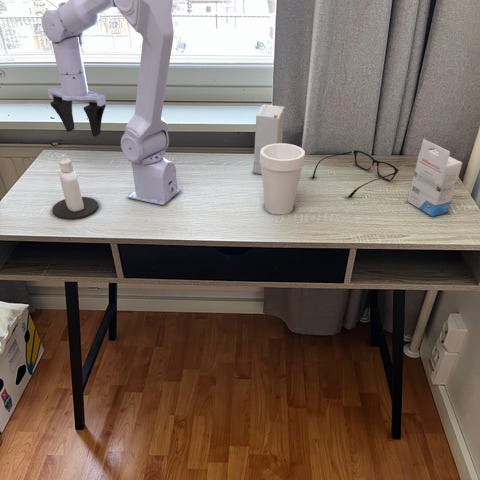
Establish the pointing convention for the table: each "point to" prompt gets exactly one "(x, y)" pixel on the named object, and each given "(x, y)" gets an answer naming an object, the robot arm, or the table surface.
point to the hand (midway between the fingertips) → (83, 132)
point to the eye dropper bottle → (70, 185)
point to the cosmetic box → (267, 130)
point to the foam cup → (281, 175)
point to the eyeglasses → (364, 169)
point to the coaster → (89, 208)
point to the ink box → (434, 179)
